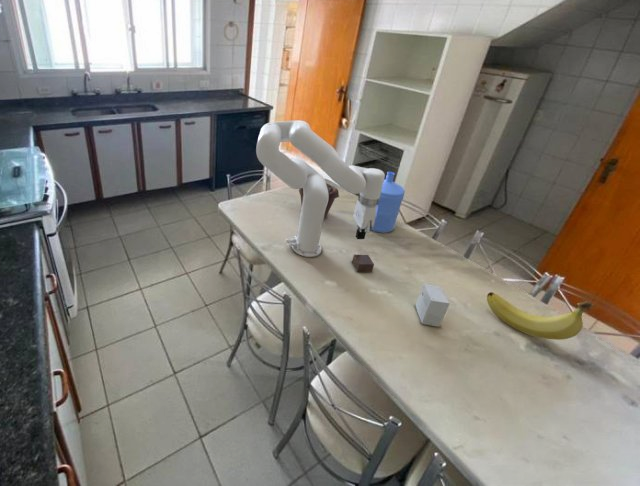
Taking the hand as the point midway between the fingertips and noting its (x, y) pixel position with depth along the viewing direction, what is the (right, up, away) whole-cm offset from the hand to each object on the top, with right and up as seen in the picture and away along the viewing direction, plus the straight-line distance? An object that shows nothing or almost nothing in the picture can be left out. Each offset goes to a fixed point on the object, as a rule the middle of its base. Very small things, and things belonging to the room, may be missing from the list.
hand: (359, 238), depth 136 cm
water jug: (+18, +2, +26) cm, 32 cm away
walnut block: (-1, -11, -4) cm, 12 cm away
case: (-11, +7, +32) cm, 35 cm away
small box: (+13, -23, -25) cm, 37 cm away
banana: (+43, -26, -28) cm, 57 cm away
